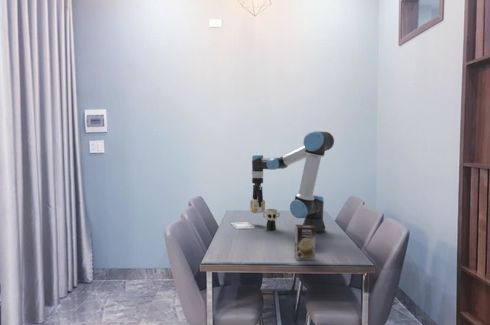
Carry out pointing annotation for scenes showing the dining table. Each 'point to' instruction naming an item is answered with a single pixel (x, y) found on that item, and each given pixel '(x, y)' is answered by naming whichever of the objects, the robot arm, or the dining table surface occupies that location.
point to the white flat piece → (243, 225)
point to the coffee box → (305, 242)
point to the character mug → (271, 218)
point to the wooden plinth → (256, 206)
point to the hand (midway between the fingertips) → (257, 210)
